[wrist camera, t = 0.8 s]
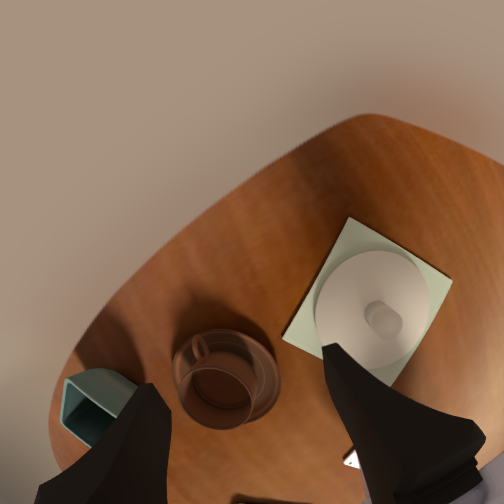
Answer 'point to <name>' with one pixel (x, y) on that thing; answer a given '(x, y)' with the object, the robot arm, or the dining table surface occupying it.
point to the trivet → (346, 246)
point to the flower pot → (93, 402)
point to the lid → (373, 307)
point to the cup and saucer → (225, 379)
